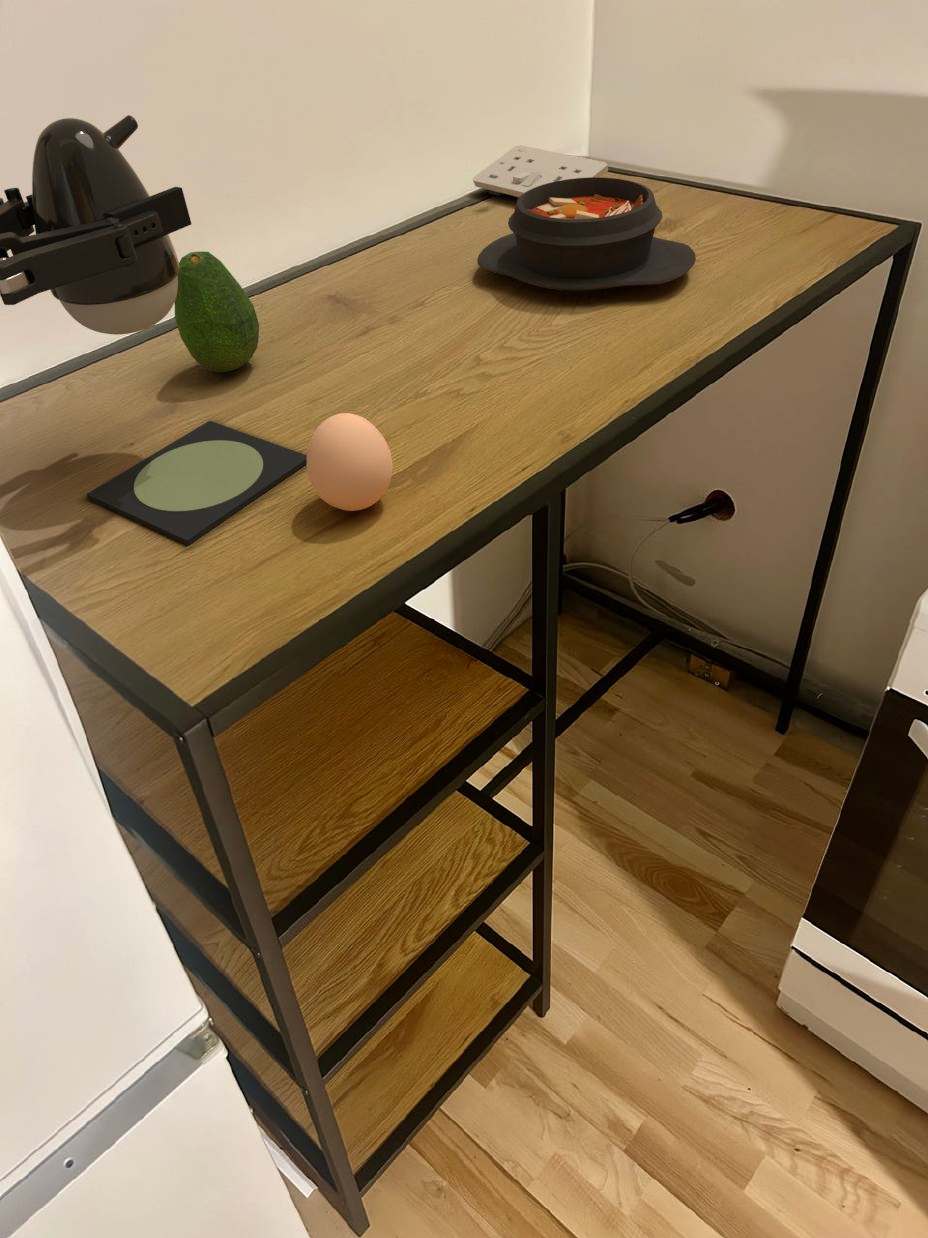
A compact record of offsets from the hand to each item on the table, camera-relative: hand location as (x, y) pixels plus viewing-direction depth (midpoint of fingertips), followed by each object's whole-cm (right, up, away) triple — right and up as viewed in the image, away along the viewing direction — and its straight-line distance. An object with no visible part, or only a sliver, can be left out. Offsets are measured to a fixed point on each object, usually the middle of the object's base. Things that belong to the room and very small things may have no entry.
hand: (141, 197), depth 73 cm
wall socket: (+36, +25, +55) cm, 70 cm away
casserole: (+40, +6, +33) cm, 52 cm away
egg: (+17, -25, +1) cm, 30 cm away
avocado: (+2, -8, +22) cm, 23 cm away
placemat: (+3, -22, +6) cm, 23 cm away
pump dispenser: (-2, -9, +3) cm, 10 cm away
